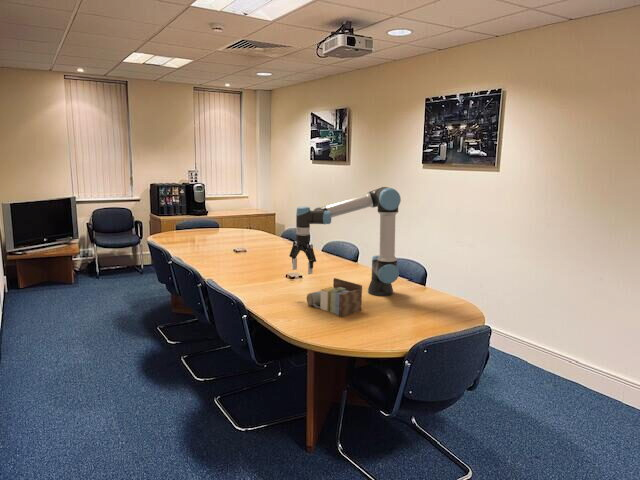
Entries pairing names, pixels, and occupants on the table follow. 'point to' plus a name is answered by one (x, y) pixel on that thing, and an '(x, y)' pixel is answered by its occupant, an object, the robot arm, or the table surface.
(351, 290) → the brown wooden box
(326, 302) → the ochre book
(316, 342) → the table surface
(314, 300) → the ceramic mug
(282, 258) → the table surface
